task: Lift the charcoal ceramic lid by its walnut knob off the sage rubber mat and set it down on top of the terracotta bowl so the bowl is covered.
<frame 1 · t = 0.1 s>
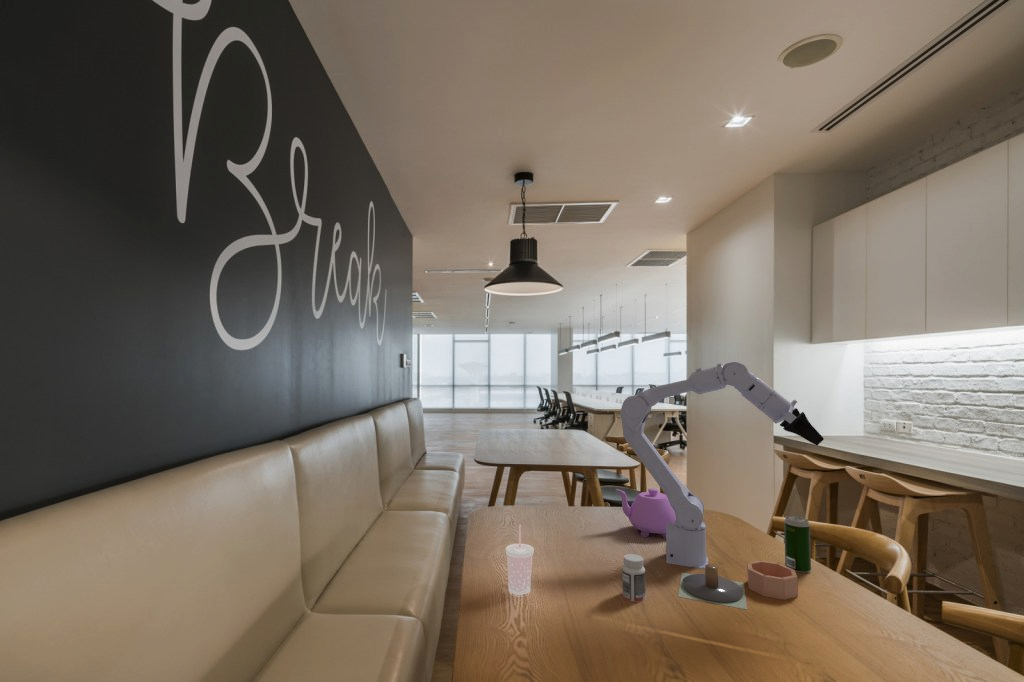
hand: (817, 439, 109), 32 cm above the table, tool tilted 50°, fingers open, 7 cm apart
pill bottle: (633, 599, 99), on the table
beverage cup: (519, 592, 102), on the table
mat: (711, 591, 103), on the table
teapot: (650, 532, 141), on the table
beer can: (798, 570, 115), on the table
bowl: (771, 590, 104), on the table
lid: (711, 589, 103), resting on mat
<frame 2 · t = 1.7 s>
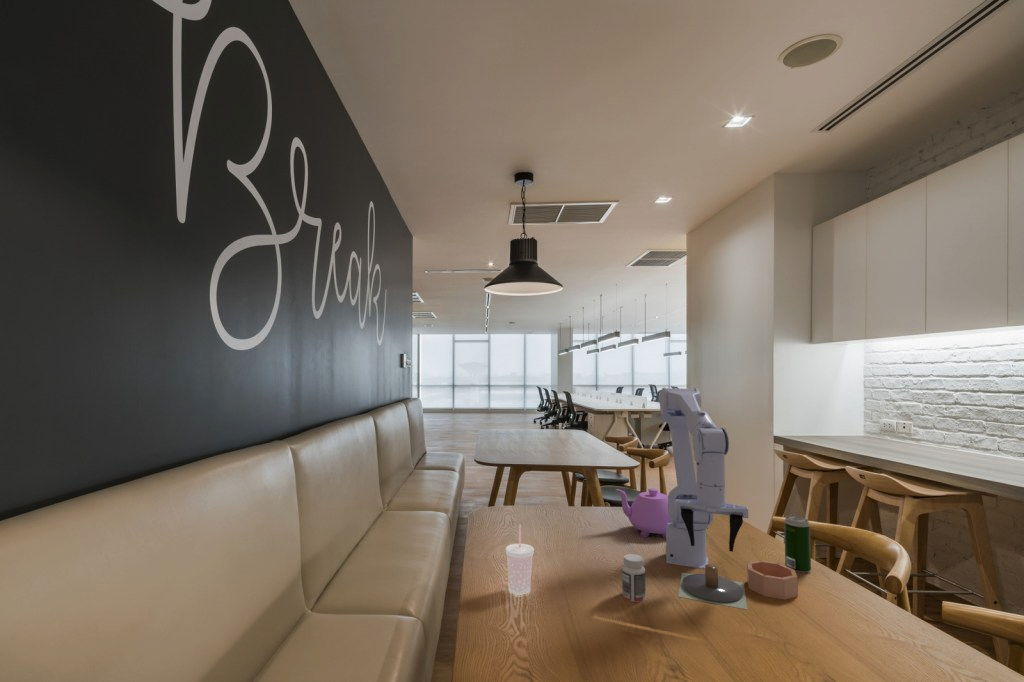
hand: (711, 547, 103), 9 cm above the table, tool pointing down, fingers open, 7 cm apart
nothing on the table moved.
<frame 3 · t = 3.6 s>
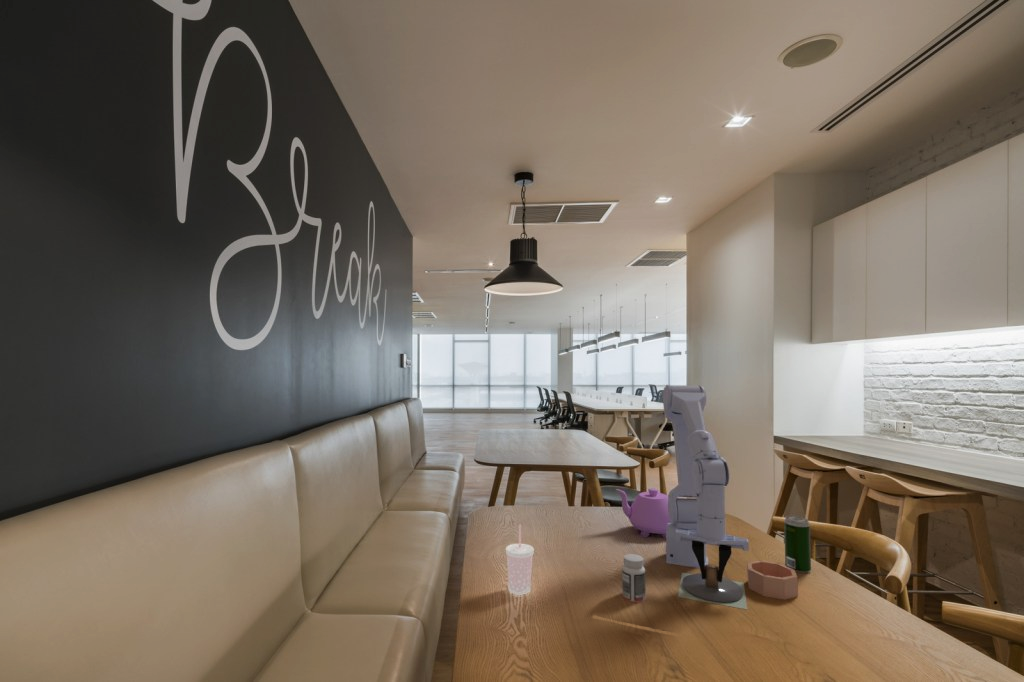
hand: (711, 578, 103), 3 cm above the table, tool pointing down, fingers closed on lid, 3 cm apart
lid: (711, 589, 103), resting on mat, touching gripper
everything else where it was.
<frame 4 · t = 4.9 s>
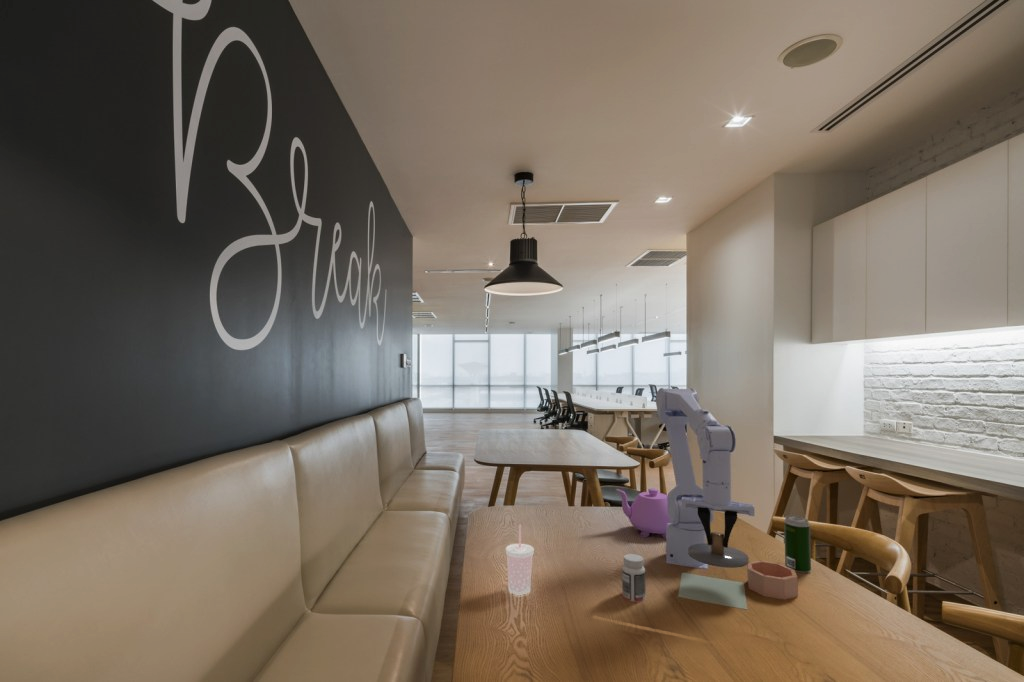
hand: (717, 544, 103), 10 cm above the table, tool pointing down, fingers closed on lid, 3 cm apart
lid: (717, 556, 103), point 7 cm above the table, touching gripper
everything else where it was.
when the fingers open (8 cm above the table, at t = 6.6 s): lid stays where it is, resting on bowl.
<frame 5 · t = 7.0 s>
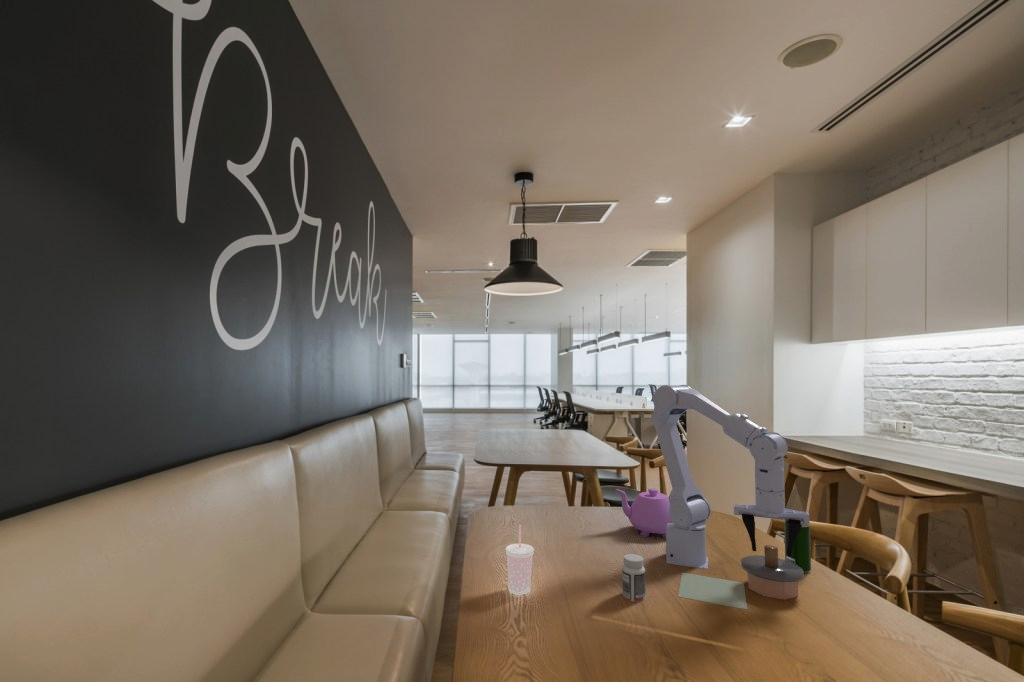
hand: (771, 552, 104), 8 cm above the table, tool pointing down, fingers open, 6 cm apart
lid: (771, 569, 104), point 4 cm above the table, touching bowl
everything else where it was.
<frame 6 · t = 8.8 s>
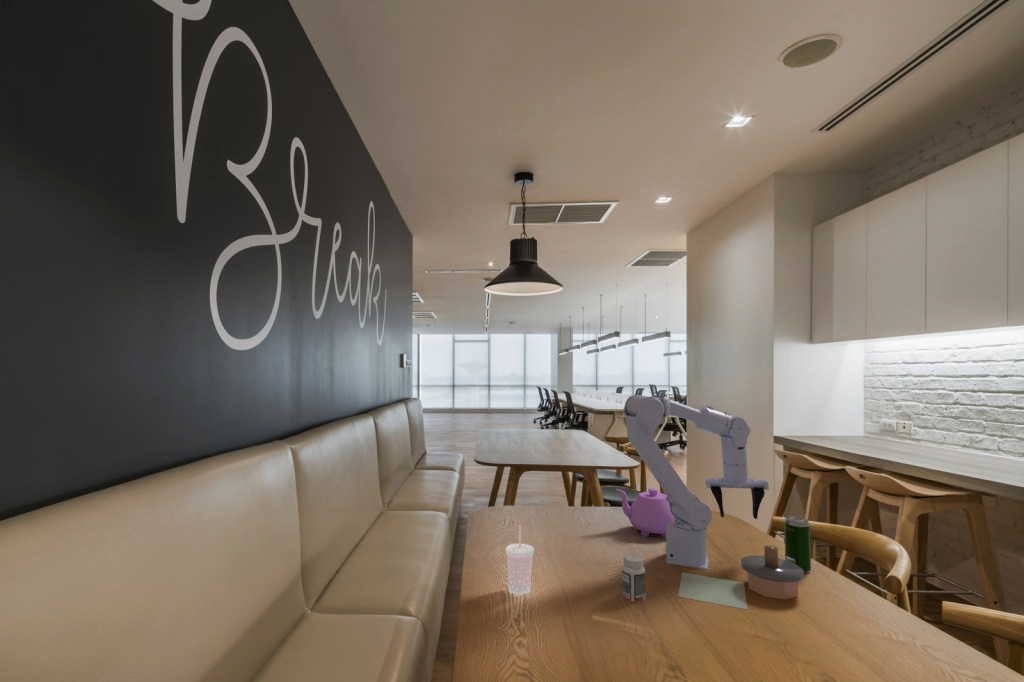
hand: (738, 516, 122), 10 cm above the table, tool pointing down, fingers open, 7 cm apart
nothing on the table moved.
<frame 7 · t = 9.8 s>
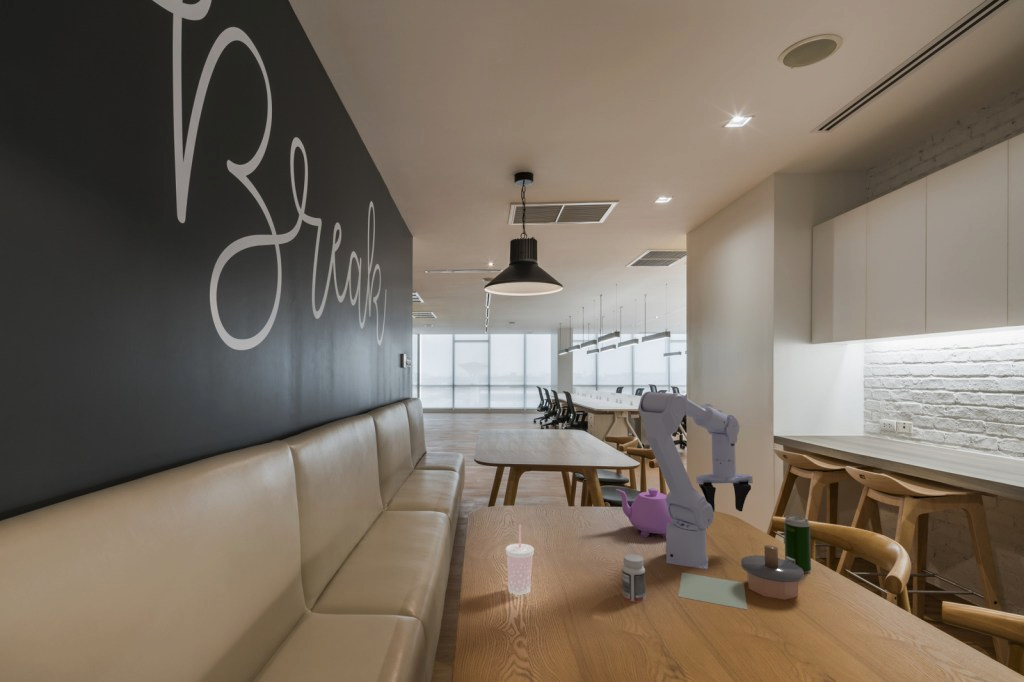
hand: (725, 510, 127), 10 cm above the table, tool pointing down, fingers open, 7 cm apart
nothing on the table moved.
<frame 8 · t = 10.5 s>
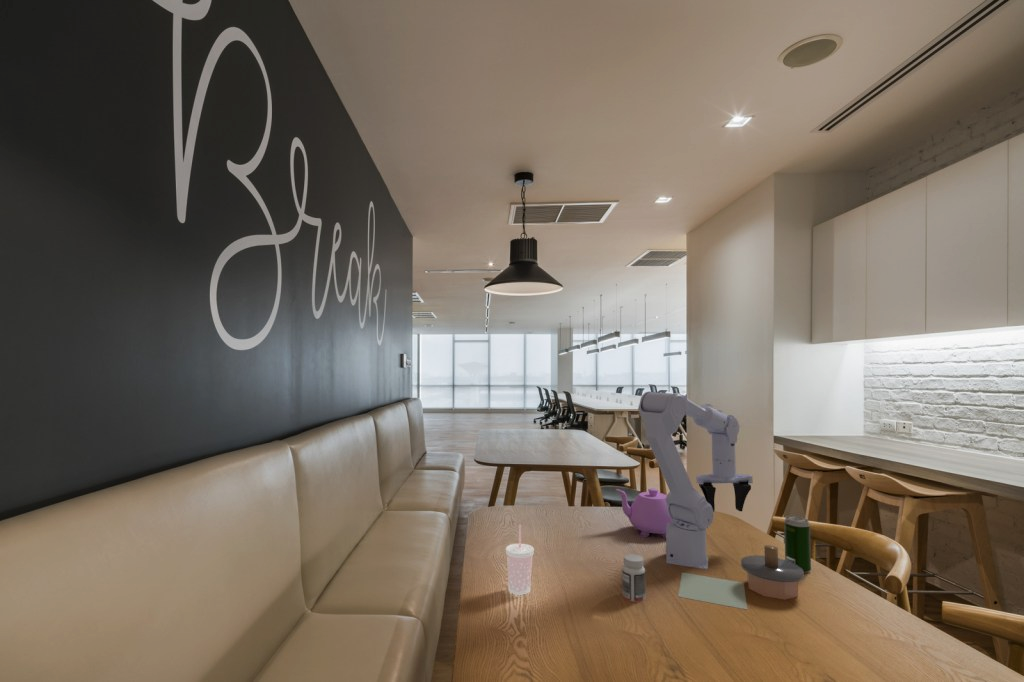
hand: (725, 510, 127), 10 cm above the table, tool pointing down, fingers open, 7 cm apart
nothing on the table moved.
at the end: lid 0.3 cm off-centre on the bowl, point 4.5 cm above the bowl's base; lid tilted 0°; the gripper is holding nothing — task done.
